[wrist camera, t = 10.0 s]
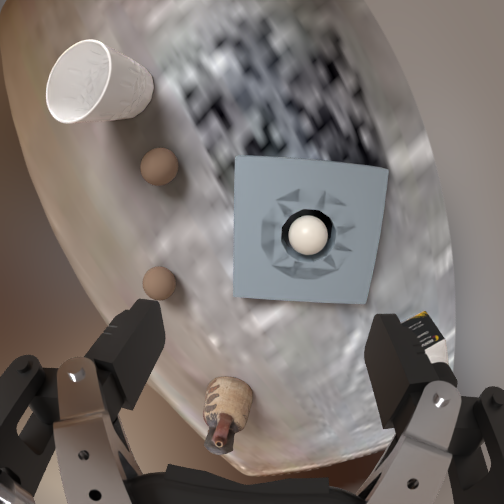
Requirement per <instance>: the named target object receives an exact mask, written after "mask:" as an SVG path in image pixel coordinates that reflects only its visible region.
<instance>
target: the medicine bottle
mask: <svg viewBox="0 0 504 504" xmlns="http://www.w3.org/2000/svg"><path fill="white" fill-rule="evenodd" d="M401 324H402V326H403V327H408V328H409V329H410V330H411V331H412V332H414V333H415V334H416V335H417V337H418V339H419V341H420V343H421V346H423V348H424V350H425V354H427V356H428V358H429V359H430V361H431V363H432V365H433V367H434V369H435V371H436V373H437V375H438V377H439V379H440V381H445V382H448V383H450V384H452V385H453V386H454V387H457V379H456V377H455V376H454V374H453V372H452V370H451V368H450V367H449V363H448V354H447V346H446V340H445V339H444V337H443V336H442V334H441V333H440V331H439V330H438V328H437V327H436V325H435V324H434V322H433V321H432V319H431V318H430V316H429V315H428V314H427V312H426V311H422V312H420V313H418V314H416V315H415V316H413V317H411V318H409V319H407V320H405V321H403V322H401Z"/></svg>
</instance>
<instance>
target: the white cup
mask: <svg viewBox="0 0 504 504" xmlns="http://www.w3.org/2000/svg"><path fill="white" fill-rule="evenodd" d="M153 90H154V84H153V79H152V75H151V74H150V73H149V72H148V71H147V69H146V68H145V67H143V66H141V65H139V64H138V63H137V62H135V61H134V60H132V59H131V58H129V57H127V56H126V55H124V54H122V53H120V52H119V51H117V50H115V49H113V48H111V47H109V46H107V45H105V44H103V43H102V42H100V41H97V40H84V41H80V42H78V43H76V44H74V45H73V46H71V47H70V48H68V49H67V50H66V51H65V52H64V53H63V54H62V55H61V56H60V58H59V59H58V60H57V62H56V63H55V65H54V67H53V69H52V71H51V73H50V76H49V79H48V83H47V89H46V101H47V106H48V109H49V111H50V113H51V115H52V116H53V117H54V118H55V119H56V120H58V121H59V122H62V123H81V122H99V121H112V120H122V119H128V118H133V117H135V116H136V115H138V114H139V113H141V112H142V111H144V109H145V108H146V106H147V105H148V103H149V102H150V101H151V98H152V94H153Z"/></svg>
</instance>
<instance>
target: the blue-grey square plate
mask: <svg viewBox="0 0 504 504" xmlns="http://www.w3.org/2000/svg"><path fill="white" fill-rule="evenodd" d="M388 172H389V170H388V169H385V168H381V167H375V166H368V165H360V164H352V163H344V162H335V161H325V160H314V159H302V158H287V157H270V156H243V155H238V156H235V186H234V270H233V297H243V298H256V299H269V300H285V301H302V302H321V303H345V304H366V301H367V297H368V293H369V288H370V284H371V279H372V275H373V270H374V265H375V260H376V255H377V250H378V244H379V238H380V233H381V226H382V220H383V213H384V206H385V199H386V190H387V182H388ZM303 209H312V210H320V211H321V212H322V213H324V214H325V215H327V216H328V217H329V218H330V220H331V222H332V232H331V238H330V239H329V241H328V242H327V243H326V245H325V246H324V248H323V249H322V250H321V251H319V252H318V253H316V254H312V255H304V254H301V253H298V252H296V251H295V250H293V249H292V248H290V247H289V246H287V245H286V243H285V241H284V239H283V237H282V235H281V233H282V226H283V225H284V224H285V222H286V221H287V219H288V218H289V216H290V215H292V214H294V213H296V212H298V211H300V210H303Z"/></svg>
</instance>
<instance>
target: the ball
mask: <svg viewBox="0 0 504 504" xmlns="http://www.w3.org/2000/svg"><path fill="white" fill-rule="evenodd" d="M327 238H328V232H327V228H326V226H325V224H324V223H323V222H322V221H321V220H320V219H319V218H317V217H314V216H310V215H306V216H302V217H299V218H297V219H296V220H295V221H294V222H293V223H292V225H291V226H290V229H289V241H290V244H291V246H292V247H293V248H294V249H295V250H296V251H297V252H299V253H301V254H304V255H312V254H316V253H318V252H319V251H321V250H322V249H323V248H324V246H325V244H326V242H327Z"/></svg>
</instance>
